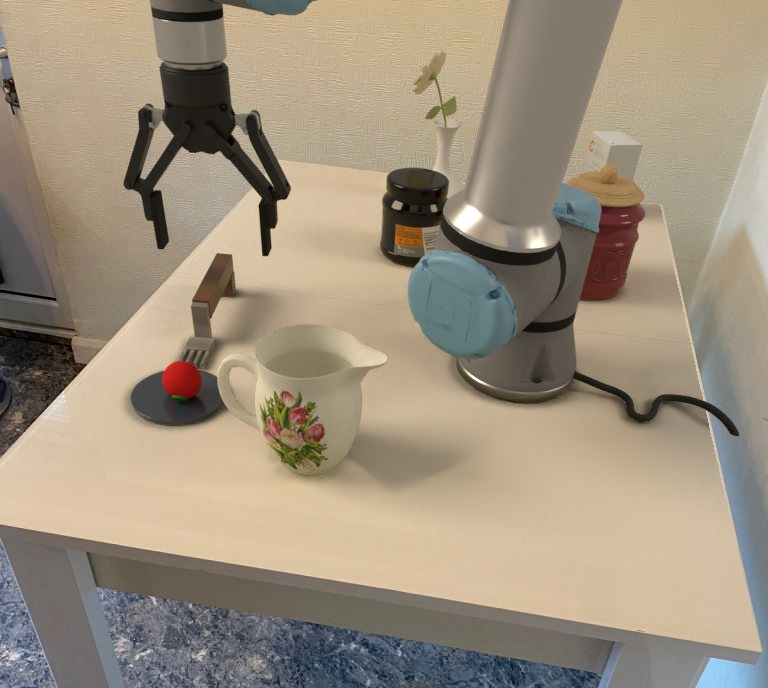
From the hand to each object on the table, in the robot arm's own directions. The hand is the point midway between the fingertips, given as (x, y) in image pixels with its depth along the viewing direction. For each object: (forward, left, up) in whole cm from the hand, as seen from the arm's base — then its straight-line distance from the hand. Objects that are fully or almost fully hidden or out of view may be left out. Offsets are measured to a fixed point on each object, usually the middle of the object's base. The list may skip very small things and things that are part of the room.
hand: (215, 248), depth 96 cm
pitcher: (-28, +18, -9) cm, 34 cm away
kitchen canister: (-36, -43, -9) cm, 57 cm away
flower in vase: (-2, -55, -9) cm, 56 cm away
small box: (-27, -73, -9) cm, 78 cm away
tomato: (-10, +17, -5) cm, 20 cm away
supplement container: (-10, -34, -9) cm, 37 cm away
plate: (-10, +18, -9) cm, 23 cm away
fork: (-1, +4, -9) cm, 10 cm away
